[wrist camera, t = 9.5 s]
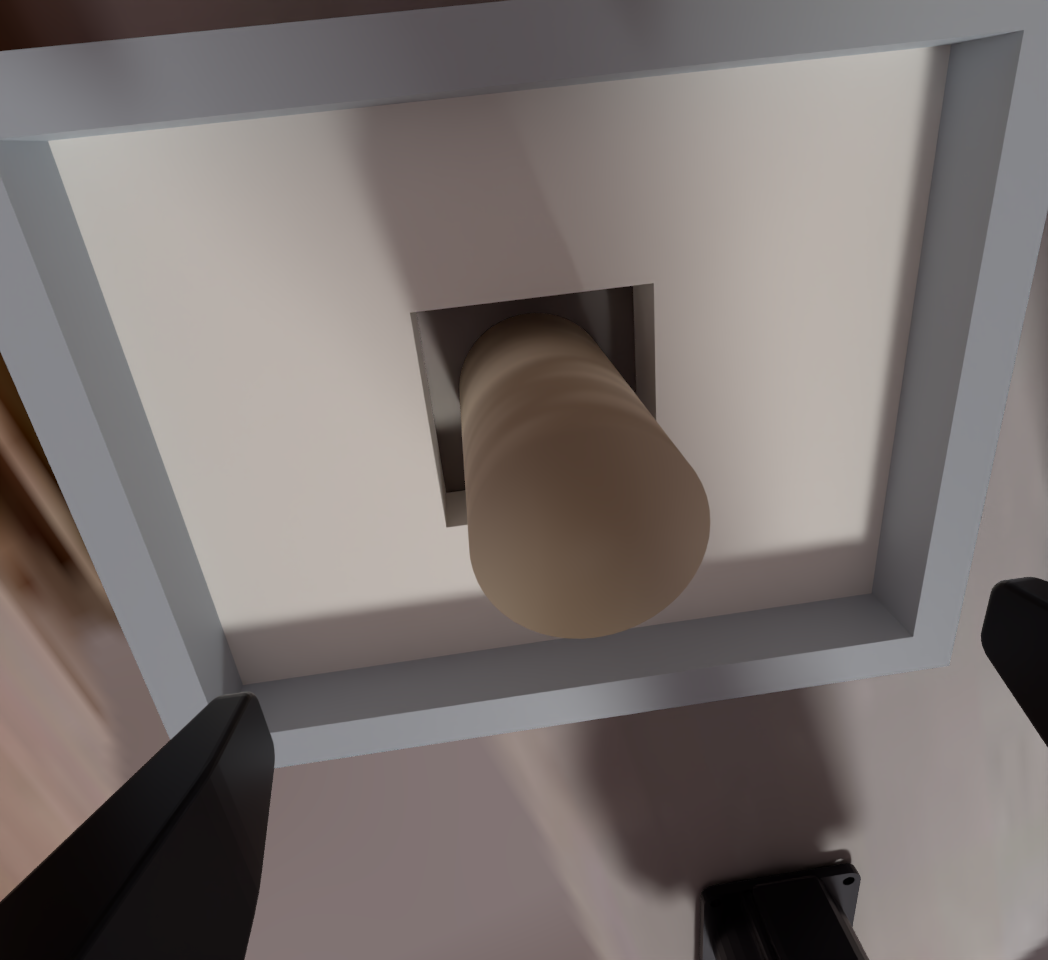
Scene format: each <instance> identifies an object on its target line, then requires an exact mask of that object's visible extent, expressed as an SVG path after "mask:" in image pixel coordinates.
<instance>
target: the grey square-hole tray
mask: <svg viewBox="0 0 1048 960" xmlns="http://www.w3.org/2000/svg"><path fill="white" fill-rule="evenodd" d="M1047 211H1048V0H508V1H498V2H488V3H478V4H468V5H458V6H448V7H438V8H428V9H418V10H408V11H398V12H388V13H378V14H368V15H358V16H348V17H338V18H328V19H318V20H308V21H298V22H288V23H278V24H268V25H258V26H248V27H238V28H228V29H218V30H208V31H198V32H188V33H178V34H168V35H158V36H148V37H138V38H128V39H118V40H108V41H99V42H89V43H79V44H69V45H59V46H49V47H39V48H29V49H19V50H9V51H0V351H1V354H2V356H3V358H4V361H5V363H6V365H7V367H8V370H9V372H10V374H11V377H12V379H13V381H14V383H15V386H16V388H17V390H18V393H19V395H20V397H21V399H22V402H23V404H24V406H25V409H26V411H27V413H28V415H29V418H30V420H31V422H32V425H33V427H34V429H35V431H36V434H37V436H38V438H39V441H40V443H41V445H42V447H43V450H44V452H45V454H46V457H47V459H48V461H49V463H50V466H51V468H52V470H53V473H54V475H55V477H56V479H57V482H58V484H59V486H60V489H61V491H62V493H63V495H64V498H65V500H66V502H67V505H68V507H69V509H70V511H71V514H72V516H73V518H74V521H75V523H76V525H77V527H78V530H79V532H80V534H81V537H82V539H83V541H84V543H85V546H86V548H87V550H88V553H89V555H90V557H91V559H92V562H93V564H94V566H95V569H96V571H97V573H98V575H99V578H100V580H101V582H102V585H103V587H104V589H105V591H106V594H107V596H108V598H109V601H110V603H111V605H112V607H113V610H114V612H115V614H116V617H117V619H118V621H119V623H120V626H121V628H122V630H123V633H124V635H125V637H126V639H127V642H128V644H129V646H130V648H131V651H132V653H133V655H134V658H135V660H136V662H137V665H138V667H139V669H140V672H141V674H142V676H143V678H144V680H145V683H146V685H147V687H148V690H149V692H150V694H151V697H152V699H153V701H154V703H155V706H156V708H157V710H158V713H159V715H160V717H161V719H162V722H163V724H164V726H165V728H166V731H167V733H168V736H169V738H170V740H171V739H172V738H173V737H174V736H175V735H176V734H177V733H178V732H179V731H180V730H181V729H182V728H183V727H184V726H186V725H187V724H188V723H189V722H190V721H191V720H192V719H193V718H194V717H195V716H196V715H197V714H198V713H199V712H200V711H201V710H202V709H203V708H204V707H205V706H207V705H208V704H209V703H210V702H211V701H212V700H213V699H214V698H216V697H218V696H221V695H227V694H234V693H240V692H251V693H254V694H255V695H256V697H257V698H258V700H259V703H260V706H261V708H262V711H263V714H264V717H265V720H266V723H267V725H268V728H269V731H270V734H271V737H272V740H273V743H274V749H275V765H274V768H280V767H286V766H293V765H299V764H305V763H312V762H319V761H326V760H332V759H339V758H345V757H352V756H358V755H365V754H372V753H378V752H384V751H391V750H398V749H404V748H411V747H418V746H423V745H430V744H437V743H444V742H450V741H457V740H464V739H470V738H477V737H483V736H490V735H496V734H503V733H510V732H516V731H523V730H529V729H536V728H542V727H549V726H556V725H562V724H569V723H575V722H582V721H589V720H595V719H602V718H608V717H615V716H621V715H628V714H635V713H641V712H648V711H654V710H661V709H667V708H674V707H681V706H687V705H694V704H700V703H707V702H713V701H720V700H727V699H733V698H740V697H746V696H753V695H759V694H766V693H773V692H779V691H786V690H792V689H799V688H805V687H812V686H819V685H825V684H832V683H838V682H845V681H851V680H858V679H865V678H871V677H878V676H884V675H891V674H897V673H904V672H911V671H917V670H924V669H930V668H937V667H944V666H949V664H950V660H951V655H952V651H953V646H954V641H955V637H956V632H957V627H958V623H959V618H960V614H961V609H962V604H963V600H964V595H965V590H966V586H967V581H968V577H969V572H970V567H971V563H972V558H973V553H974V549H975V544H976V540H977V535H978V530H979V526H980V521H981V516H982V512H983V507H984V503H985V498H986V493H987V489H988V484H989V479H990V475H991V470H992V465H993V461H994V456H995V452H996V447H997V442H998V438H999V433H1000V428H1001V424H1002V419H1003V415H1004V410H1005V405H1006V401H1007V396H1008V391H1009V387H1010V382H1011V378H1012V373H1013V368H1014V364H1015V359H1016V354H1017V350H1018V345H1019V341H1020V336H1021V331H1022V327H1023V322H1024V317H1025V313H1026V308H1027V304H1028V299H1029V294H1030V290H1031V285H1032V280H1033V276H1034V271H1035V267H1036V262H1037V257H1038V253H1039V248H1040V243H1041V239H1042V234H1043V230H1044V225H1045V220H1046V216H1047ZM626 286H633V304H634V338H635V372H636V395H637V397H638V398H639V399H640V401H641V402H642V403H643V404H644V406H645V407H646V408H647V410H648V411H649V412H650V413H651V415H652V416H653V417H654V419H655V420H656V421H657V423H658V424H659V425H660V426H661V428H662V429H663V430H664V432H665V433H666V434H667V436H668V437H669V438H670V439H671V441H672V442H673V443H674V445H675V446H676V447H677V448H678V450H679V451H680V452H681V454H682V455H683V456H684V458H685V459H686V460H687V461H688V463H689V464H690V465H691V467H692V468H693V469H694V470H695V472H696V474H697V475H698V477H699V479H700V481H701V483H702V485H703V487H704V490H705V493H706V495H707V499H708V504H709V509H710V534H709V540H708V544H707V549H706V552H705V555H704V557H703V560H702V562H701V565H700V566H699V568H698V570H697V572H696V574H695V576H694V577H693V579H692V580H691V581H690V583H689V584H688V586H687V587H686V588H685V589H684V591H683V592H682V593H681V594H680V595H679V596H678V597H677V598H676V599H675V600H674V601H673V602H672V603H671V604H670V605H668V606H667V607H666V608H665V609H664V610H662V611H661V612H659V613H658V614H656V615H655V616H654V617H652V618H650V619H648V620H647V621H645V622H643V623H641V624H639V625H637V626H635V627H632V628H630V629H628V630H625V631H622V632H618V633H615V634H612V635H607V636H602V637H596V638H585V639H568V638H560V637H553V636H549V635H545V634H541V633H538V632H535V631H532V630H530V629H527V628H525V627H523V626H521V625H519V624H517V623H515V622H514V621H512V620H511V619H509V618H508V617H507V616H505V615H504V614H503V613H501V612H500V611H499V610H498V609H497V608H496V607H495V606H494V605H493V604H492V603H491V601H490V600H489V599H488V598H487V597H486V595H485V594H484V592H483V591H482V589H481V587H480V585H479V584H478V582H477V579H476V577H475V574H474V572H473V569H472V564H471V560H470V553H469V539H468V523H467V507H466V491H465V490H464V491H456V492H449V493H446V488H445V482H444V476H443V470H442V464H441V458H440V452H439V446H438V440H437V434H436V428H435V422H434V416H433V410H432V404H431V398H430V392H429V386H428V380H427V374H426V368H425V362H424V356H423V350H422V344H421V338H420V332H419V325H418V319H417V313H416V312H420V311H428V310H437V309H445V308H453V307H461V306H470V305H478V304H486V303H494V302H502V301H511V300H519V299H527V298H535V297H544V296H552V295H560V294H568V293H577V292H585V291H593V290H601V289H610V288H618V287H626Z"/></svg>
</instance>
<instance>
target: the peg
mask: <svg viewBox="0 0 1048 960" xmlns="http://www.w3.org/2000/svg"><path fill="white" fill-rule="evenodd" d="M459 393H460V409H461V426H462V442H463V458H464V474H465V491H466V507H467V523H468V539H469V553H470V560H471V564H472V569H473V572H474V574H475V577H476V579H477V582H478V584H479V585H480V587H481V589H482V591H483V592H484V594H485V595H486V597H487V598H488V599H489V600H490V601H491V603H492V604H493V605H494V606H495V607H496V608H497V609H498V610H499V611H500V612H501V613H503V614H504V615H505V616H507V617H508V618H509V619H511V620H512V621H514V622H515V623H517V624H519V625H521V626H523V627H525V628H527V629H530V630H532V631H535V632H538V633H541V634H545V635H549V636H553V637H560V638H568V639H585V638H596V637H602V636H607V635H612V634H615V633H618V632H622V631H625V630H628V629H630V628H632V627H635V626H637V625H639V624H641V623H643V622H645V621H647V620H648V619H650V618H652V617H654V616H655V615H656V614H658V613H659V612H661V611H662V610H664V609H665V608H666V607H667V606H668V605H670V604H671V603H672V602H673V601H674V600H675V599H676V598H677V597H678V596H679V595H680V594H681V593H682V592H683V591H684V589H685V588H686V587H687V586H688V584H689V583H690V581H691V580H692V579H693V577H694V576H695V574H696V572H697V570H698V568H699V566H700V565H701V562H702V560H703V557H704V555H705V552H706V549H707V544H708V540H709V534H710V509H709V504H708V499H707V495H706V493H705V490H704V487H703V485H702V483H701V481H700V479H699V477H698V475H697V474H696V472H695V470H694V469H693V468H692V467H691V465H690V464H689V463H688V461H687V460H686V459H685V458H684V456H683V455H682V454H681V452H680V451H679V450H678V448H677V447H676V446H675V445H674V443H673V442H672V441H671V439H670V438H669V437H668V436H667V434H666V433H665V432H664V430H663V429H662V428H661V426H660V425H659V424H658V423H657V421H656V420H655V419H654V417H653V416H652V415H651V413H650V412H649V411H648V410H647V408H646V407H645V406H644V404H643V403H642V402H641V401H640V399H639V398H638V397H637V395H636V394H635V393H634V391H633V390H632V389H631V388H630V386H629V385H628V384H627V382H626V381H625V380H624V378H623V377H622V376H621V375H620V373H619V372H618V371H617V369H616V368H615V367H614V366H613V364H612V363H611V362H610V360H609V359H608V358H607V356H606V355H605V354H604V353H603V351H602V350H601V349H600V347H599V346H598V345H597V344H596V342H595V341H594V340H593V338H592V337H591V336H590V335H589V334H588V333H587V332H586V331H585V330H584V329H582V328H581V327H580V326H578V325H577V324H575V323H573V322H571V321H570V320H568V319H565V318H562V317H560V316H556V315H552V314H546V313H527V314H522V315H517V316H514V317H511V318H508V319H506V320H503V321H501V322H499V323H497V324H496V325H494V326H493V327H491V328H490V329H489V330H487V331H486V332H485V333H484V334H483V335H482V336H481V337H480V338H479V339H478V340H477V341H476V342H475V344H474V345H473V347H472V348H471V349H470V351H469V353H468V355H467V357H466V359H465V361H464V364H463V367H462V370H461V375H460V383H459Z"/></svg>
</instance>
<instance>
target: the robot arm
mask: <svg viewBox="0 0 1048 960" xmlns="http://www.w3.org/2000/svg"><path fill="white" fill-rule="evenodd" d="M981 642H982V646H983V649H984V651H985V653H986V655H987V657H988V658H989V660H990V661H991V663H992V664H993V666H994V667H995V669H996V670H997V672H998V673H999V675H1000V676H1001V678H1002V679H1003V681H1004V682H1005V684H1006V685H1007V687H1008V688H1009V690H1010V691H1011V693H1012V694H1013V696H1014V697H1015V699H1016V700H1017V702H1018V703H1019V705H1020V706H1021V708H1022V709H1023V711H1024V712H1025V714H1026V715H1027V717H1028V718H1029V720H1030V721H1031V723H1032V724H1033V726H1034V727H1035V729H1036V730H1037V732H1038V733H1039V735H1040V737H1041V738H1042V740H1043V741H1044V743H1045V744H1046V746H1047V747H1048V581H1045V580H1042V579H1039V578H1035V577H1024V578H1017V579H1010V580H1003V581H1000V582H998V583H997V584H996V585H995V586H994V587H993V589H992V591H991V594H990V598H989V603H988V607H987V611H986V615H985V619H984V623H983V627H982V632H981ZM274 765H275V749H274V743H273V740H272V737H271V734H270V731H269V728H268V725H267V723H266V720H265V717H264V714H263V711H262V708H261V706H260V703H259V700H258V698H257V697H256V695H255V694H254V693H251V692H240V693H234V694H227V695H221V696H218V697H216V698H214V699H213V700H212V701H211V702H210V703H209V704H208V705H207V706H205V707H204V708H203V709H202V710H201V711H200V712H199V713H198V714H197V715H196V716H195V717H194V718H193V719H192V720H191V721H190V722H189V723H188V724H187V725H186V726H184V727H183V728H182V729H181V730H180V731H179V732H178V733H177V734H176V735H175V736H174V737H173V738H172V739H171V740H170V741H169V742H168V743H167V744H166V745H165V746H163V747H162V748H161V749H160V750H159V751H158V752H157V753H156V754H155V755H154V756H153V757H152V758H151V759H150V760H149V761H148V762H147V763H146V764H145V765H144V766H142V768H140V769H139V770H138V771H137V772H136V773H135V774H134V775H133V776H132V777H131V778H130V779H129V780H128V781H127V782H126V783H125V784H124V785H123V786H121V787H120V788H119V789H118V790H117V791H116V792H115V793H114V794H113V795H112V796H111V797H110V798H109V799H108V800H107V801H106V802H105V803H104V804H103V805H102V806H100V807H99V808H98V809H97V810H96V811H95V812H94V813H93V814H92V815H91V816H90V817H89V818H88V819H87V820H86V821H85V822H84V823H83V824H82V825H81V826H79V827H78V828H77V829H76V830H75V831H74V832H73V833H72V834H71V835H70V836H69V837H68V838H67V839H66V840H65V841H64V842H63V843H62V844H61V845H60V846H58V847H57V848H56V849H55V850H54V851H53V852H52V853H51V854H50V855H49V856H48V857H47V858H46V859H45V860H44V861H43V862H42V863H41V864H40V865H39V866H37V867H36V868H35V869H34V870H33V871H32V872H31V873H30V874H29V875H28V876H27V877H26V878H25V879H24V880H23V881H22V882H21V883H20V884H19V885H18V886H16V887H15V888H14V889H13V890H12V891H11V892H10V893H9V894H8V895H7V896H6V897H5V898H4V899H3V900H2V901H1V902H0V960H244V959H245V954H246V950H247V945H248V941H249V937H250V932H251V928H252V924H253V919H254V915H255V910H256V905H257V900H258V895H259V889H260V882H261V874H262V865H263V858H264V850H265V840H266V832H267V823H268V816H269V807H270V798H271V790H272V782H273V773H274ZM860 880H861V878H860V875H859V873H858V871H857V870H856V868H855V867H854V866H853V865H852V864H842V865H836V866H830V867H824V868H818V869H811V870H805V871H799V872H793V873H787V874H781V875H775V876H769V877H763V878H757V879H751V880H745V881H739V882H733V883H727V884H721V885H715V886H711V887H708V888H706V889H704V890H703V892H702V893H701V906H700V957H699V960H869V958H868V957H867V955H866V953H865V951H864V949H863V947H862V945H861V943H860V941H859V939H858V937H857V935H856V934H855V932H854V930H853V928H852V926H853V920H854V914H855V909H856V903H857V897H858V891H859V886H860Z"/></svg>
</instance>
